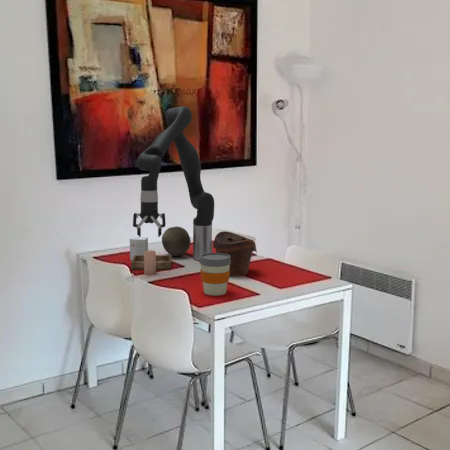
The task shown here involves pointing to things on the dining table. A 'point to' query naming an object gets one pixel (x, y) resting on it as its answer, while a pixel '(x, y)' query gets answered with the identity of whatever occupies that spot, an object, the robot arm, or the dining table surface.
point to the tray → (161, 262)
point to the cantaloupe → (176, 241)
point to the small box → (138, 246)
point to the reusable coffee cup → (215, 272)
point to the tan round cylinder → (149, 262)
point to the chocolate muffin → (235, 251)
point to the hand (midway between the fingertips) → (149, 236)
